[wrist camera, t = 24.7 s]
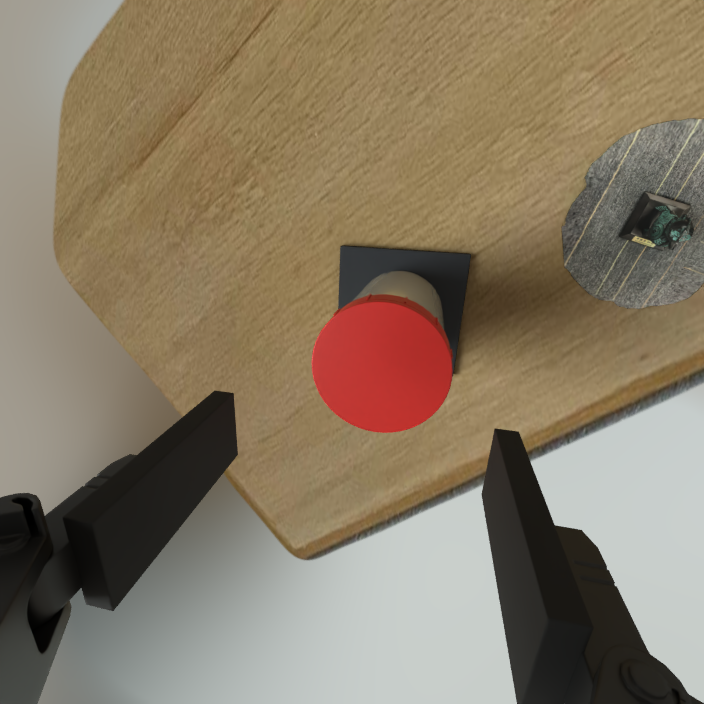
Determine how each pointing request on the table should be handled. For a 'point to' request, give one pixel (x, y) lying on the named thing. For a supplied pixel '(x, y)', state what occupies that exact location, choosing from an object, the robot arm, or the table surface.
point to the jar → (406, 290)
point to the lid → (383, 363)
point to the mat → (434, 267)
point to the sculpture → (641, 218)
